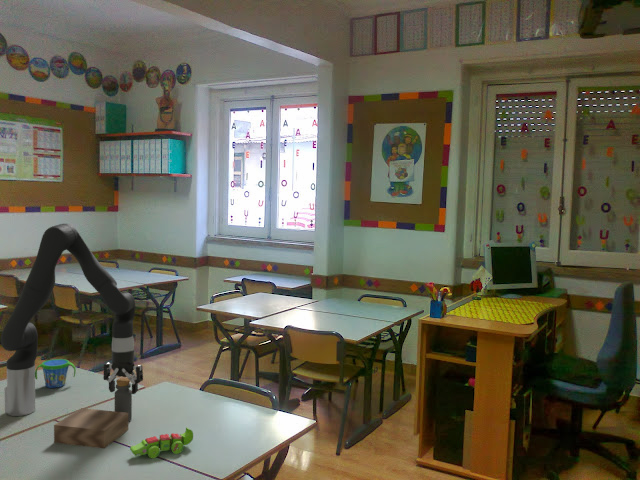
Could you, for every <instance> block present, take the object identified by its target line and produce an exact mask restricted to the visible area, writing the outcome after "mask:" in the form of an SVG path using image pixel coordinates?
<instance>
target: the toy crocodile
mask: <svg viewBox="0 0 640 480" xmlns="http://www.w3.org/2000/svg"><path fill="white" fill-rule="evenodd" d="M193 439H194V432H193V430H192V429H190V428H188V427H187V426H186V427H185V432H183V433H180V434H179V433H173V432H172V433H171V434H170V435H169V434H168V433H165V434H160V435H159V438H157V436H151V437H146V438H145V439H142V440H141V442H138V443H137V444H135V445H131V446H130V448H129V450H130V451H131V453H132V454H133V455H134V456H135V457H139V456H143V455H147V456H148V457H149V458H151V459H155V458H157V457H158V456H159V455H160V454H161V452H163V451H170V450H171V452H172V453H173V454H175V455H178V454H181V453H182V452H183V450H184V449H185V448H184V447H185V446H187V445H189V444H190V443H191V442H192V441H193Z"/></svg>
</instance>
